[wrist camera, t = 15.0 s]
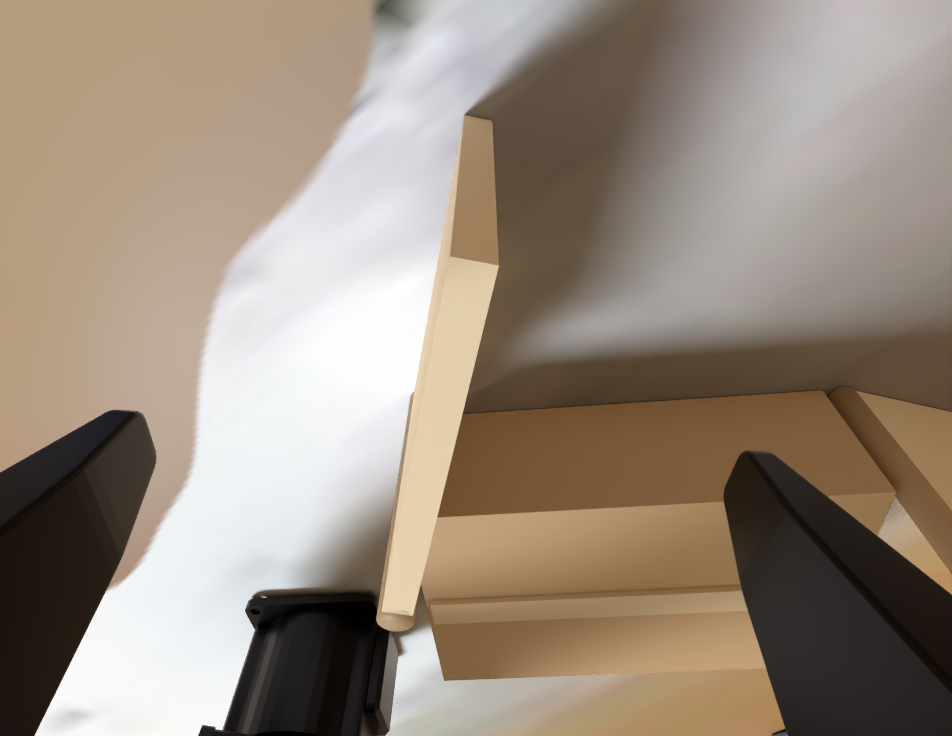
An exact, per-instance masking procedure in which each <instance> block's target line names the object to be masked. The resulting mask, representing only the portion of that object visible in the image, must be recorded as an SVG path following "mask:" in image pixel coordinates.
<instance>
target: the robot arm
mask: <svg viewBox="0 0 952 736" xmlns="http://www.w3.org/2000/svg"><path fill="white" fill-rule="evenodd" d="M155 464H156V450H155V447H154V444H153V441H152V438H151V434H150V431H149V428H148V425H147V422H146V419H145V417H144V415H143V414H142V413H140V412H138V411H130V410H111V411H108V412H106V413H104V414H102V415H101V416H99V417H97V418H95V419H94V420H92V421H90V422H88V423H87V424H85V425H83V426H81V427H79V428H78V429H76V430H74V431H72V432H71V433H69V434H67V435H65V436H64V437H62V438H60V439H58V440H57V441H55V442H53V443H51V444H50V445H48V446H46V447H44V448H43V449H41V450H39V451H37V452H36V453H34V454H32V455H30V456H29V457H27V458H25V459H23V460H21V461H20V462H18V463H16V464H14V465H13V466H11V467H9V468H7V469H6V470H4V471H2V472H0V736H34V735H35V733H36V731H37V729H38V727H39V725H40V723H41V721H42V719H43V717H44V715H45V713H46V711H47V709H48V707H49V705H50V703H51V701H52V699H53V697H54V695H55V693H56V691H57V689H58V687H59V685H60V683H61V681H62V679H63V677H64V675H65V673H66V671H67V669H68V667H69V664H70V662H71V660H72V658H73V656H74V654H75V652H76V650H77V648H78V646H79V644H80V642H81V640H82V638H83V636H84V634H85V632H86V630H87V628H88V626H89V624H90V622H91V620H92V618H93V616H94V614H95V612H96V610H97V608H98V606H99V604H100V602H101V600H102V598H103V596H104V594H105V592H106V590H107V588H108V586H109V584H110V582H111V580H112V577H113V575H114V573H115V571H116V569H117V567H118V565H119V562H120V560H121V558H122V556H123V553H124V551H125V548H126V546H127V543H128V540H129V538H130V535H131V532H132V529H133V527H134V524H135V521H136V518H137V515H138V513H139V510H140V507H141V504H142V501H143V498H144V496H145V493H146V490H147V488H148V485H149V482H150V479H151V477H152V474H153V471H154V468H155ZM723 498H724V506H725V511H726V516H727V521H728V526H729V531H730V536H731V541H732V546H733V551H734V556H735V561H736V566H737V571H738V576H739V580H740V585H741V589H742V593H743V597H744V600H745V603H746V607H747V610H748V613H749V616H750V619H751V623H752V626H753V629H754V632H755V635H756V638H757V641H758V644H759V647H760V651H761V654H762V657H763V660H764V663H765V666H766V669H767V672H768V676H769V679H770V682H771V685H772V688H773V691H774V694H775V697H776V701H777V704H778V707H779V710H780V713H781V716H782V719H783V722H784V725H785V729H786V732H787V735H788V736H952V595H951V594H950V593H949V592H948V591H946V590H945V589H944V588H943V587H941V586H940V585H939V584H938V583H936V582H935V581H934V580H932V579H931V578H930V577H929V576H927V575H926V574H925V573H924V572H922V571H921V570H920V569H919V568H917V567H916V566H915V565H914V564H912V563H911V562H910V561H908V560H907V559H906V558H905V557H903V556H902V555H901V554H900V553H898V552H897V551H896V550H895V549H893V548H892V547H891V546H889V545H888V544H887V543H886V542H884V541H883V540H882V539H881V538H879V537H878V536H877V535H876V534H874V533H873V532H872V531H871V530H869V529H868V528H867V527H865V526H864V525H863V524H862V523H860V522H859V521H858V520H857V519H855V518H854V517H853V516H852V515H850V514H849V513H848V512H847V511H845V510H844V509H843V508H841V507H840V506H839V505H838V504H836V503H835V502H834V501H833V500H831V499H830V498H829V497H828V496H826V495H825V494H824V493H823V492H821V491H820V490H819V489H817V488H816V487H815V486H814V485H812V484H811V483H810V482H809V481H807V480H806V479H805V478H804V477H802V476H801V475H800V474H799V473H797V472H796V471H795V470H793V469H792V468H791V467H790V466H788V465H787V464H786V463H785V462H783V461H782V460H781V459H780V458H778V457H777V456H776V455H774V454H773V453H771V452H767V451H753V450H746V451H743V452H742V453H741V454H740V455H739V457H738V458H737V461H736V463H735V465H734V467H733V470H732V472H731V474H730V476H729V478H728V481H727V483H726V485H725V488H724V495H723ZM377 611H378V601H377V598H376V597H375V596H373V595H371V594H366V593H363V594H342V595H321V596H301V597H280V598H259V599H251V600H249V601H248V603H247V606H246V609H245V612H246V614H247V616H248V618H249V619H250V621H251V623H252V625H253V627H254V629H255V632H254V635H253V638H252V641H251V644H250V647H249V650H248V653H247V656H246V659H245V662H244V666H243V669H242V672H241V675H240V678H239V681H238V684H237V687H236V690H235V693H234V696H233V699H232V702H231V706H230V709H229V712H228V715H227V718H226V721H225V724H224V727H223V730H216V729H215V727H213V726H206V725H202V728H201V730H200V733H199V735H198V736H385V735H386V734H387V733H388V732H389V730H390V721H391V712H392V704H393V695H394V687H395V678H396V670H397V661H398V651H397V647H396V644H395V641H394V638H393V635H392V631H389V630H386V629H384V628H382V627H381V626H379V625H378V623H377V621H376V617H377Z"/></svg>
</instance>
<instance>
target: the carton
mask: <svg viewBox="0 0 952 736" xmlns="http://www.w3.org/2000/svg"><path fill="white" fill-rule="evenodd" d="M746 450H753V451H767V452H771V453H773V454H774V455H776V456H777V457H778V458H780V459H781V460H782V461H783V462H785V463H786V464H787V465H788V466H790V467H791V468H792V469H793V470H795V471H796V472H797V473H799V474H800V475H801V476H802V477H804V478H805V479H806V480H807V481H809V482H810V483H811V484H812V485H814V486H815V487H816V488H817V489H819V490H820V491H821V492H823V493H824V494H825V495H826V496H828V497H829V498H830V499H831V500H833V501H834V502H835V503H836V504H838V505H839V506H840V507H841V508H843V509H844V510H845V511H847V512H848V513H849V514H850V515H852V516H853V517H854V518H855V519H857V520H858V521H859V522H860V523H862V524H863V525H864V526H865V527H867V528H868V529H869V530H871V531H872V532H873V533H874V534H876V535H878V533H879V531H880V529H881V526H882V524H883V522H884V520H885V517H886V515H887V513H888V511H889V508H890V506H891V504H892V502H893V499H894V497H895V495H896V493H897V492H896V490H895V489H894V488H893V486H892V485H891V484H890V482H889V481H888V480H887V478H886V477H885V475H884V474H883V473H882V471H881V470H880V469H879V467H878V466H877V464H876V463H875V462H874V460H873V459H872V458H871V456H870V455H869V454H868V452H867V451H866V449H865V448H864V447H863V445H862V444H861V443H860V441H859V440H858V438H857V437H856V436H855V434H854V433H853V432H852V430H851V429H850V428H849V426H848V425H847V423H846V422H845V421H844V419H843V418H842V417H841V415H840V414H839V412H838V411H837V410H836V408H835V407H834V406H833V404H832V403H831V402H830V400H829V399H828V397H827V396H826V395H825V393H824V392H823V391H822V390H820V391H804V392H789V393H774V394H759V395H744V396H729V397H713V398H698V399H683V400H668V401H653V402H638V403H623V404H607V405H592V406H577V407H562V408H547V409H532V410H516V411H501V412H486V413H471V414H462V418H461V422H460V426H459V430H458V435H457V439H456V443H455V447H454V451H453V455H452V459H451V463H450V467H449V471H448V475H447V479H446V483H445V487H444V492H443V496H442V500H441V504H440V508H439V512H438V516H437V520H436V524H435V528H434V532H433V536H432V540H431V544H430V548H429V553H428V557H427V561H426V565H425V569H424V573H423V577H422V581H421V586H422V590H423V594H424V598H425V603H426V607H427V611H428V615H429V619H430V623H431V627H432V631H433V636H434V640H435V644H436V648H437V652H438V656H439V660H440V665H441V669H442V673H443V677H444V681H448V680H474V679H500V678H525V677H551V676H577V675H603V674H629V673H655V672H681V671H707V670H733V669H758V668H766V666H765V663H764V660H763V657H762V654H761V651H760V647H759V644H758V641H757V638H756V635H755V632H754V629H753V626H752V623H751V619H750V616H749V613H748V610H747V607H746V603H745V600H744V597H743V593H742V589H741V585H740V580H739V576H738V571H737V566H736V561H735V556H734V551H733V546H732V541H731V536H730V531H729V526H728V521H727V516H726V511H725V506H724V498H723V495H724V488H725V485H726V483H727V481H728V478H729V476H730V474H731V472H732V470H733V467H734V465H735V463H736V461H737V458H738V457H739V455H740V454H741V453H742V452H743V451H746Z"/></svg>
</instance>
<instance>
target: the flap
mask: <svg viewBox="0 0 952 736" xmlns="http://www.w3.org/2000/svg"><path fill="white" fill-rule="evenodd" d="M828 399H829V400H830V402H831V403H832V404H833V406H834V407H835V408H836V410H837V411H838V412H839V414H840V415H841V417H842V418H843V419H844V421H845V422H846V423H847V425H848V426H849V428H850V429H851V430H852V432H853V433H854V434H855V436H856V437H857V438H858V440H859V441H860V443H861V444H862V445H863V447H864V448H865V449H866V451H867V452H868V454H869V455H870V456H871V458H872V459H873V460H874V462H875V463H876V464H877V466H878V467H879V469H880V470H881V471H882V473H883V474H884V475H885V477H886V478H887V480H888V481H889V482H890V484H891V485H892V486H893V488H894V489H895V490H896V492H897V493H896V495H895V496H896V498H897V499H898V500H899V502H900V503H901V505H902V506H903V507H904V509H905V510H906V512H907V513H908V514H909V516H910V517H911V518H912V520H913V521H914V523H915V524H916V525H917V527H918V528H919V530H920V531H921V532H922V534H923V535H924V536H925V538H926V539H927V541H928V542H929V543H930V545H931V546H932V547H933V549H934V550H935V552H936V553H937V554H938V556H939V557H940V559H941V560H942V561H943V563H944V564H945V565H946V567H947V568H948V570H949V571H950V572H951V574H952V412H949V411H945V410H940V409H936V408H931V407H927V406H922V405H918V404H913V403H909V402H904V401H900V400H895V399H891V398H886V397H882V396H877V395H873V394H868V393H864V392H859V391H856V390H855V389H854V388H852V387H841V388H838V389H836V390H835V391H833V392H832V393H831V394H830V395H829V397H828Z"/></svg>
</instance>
